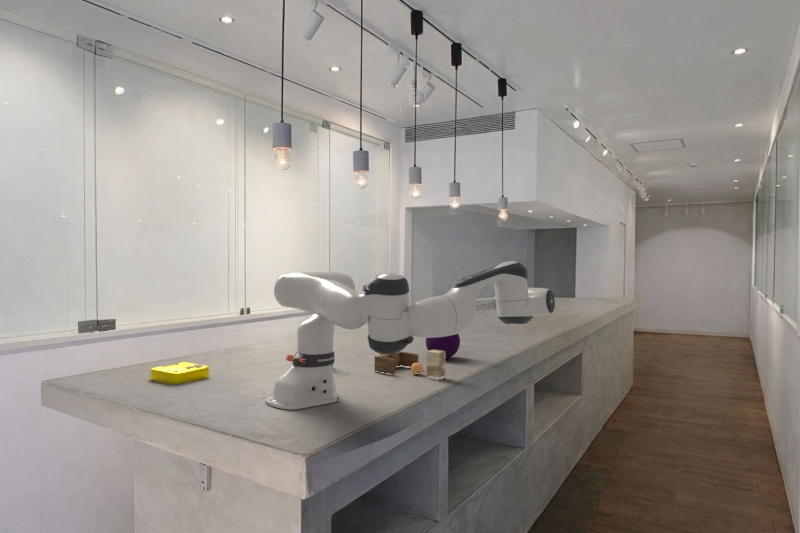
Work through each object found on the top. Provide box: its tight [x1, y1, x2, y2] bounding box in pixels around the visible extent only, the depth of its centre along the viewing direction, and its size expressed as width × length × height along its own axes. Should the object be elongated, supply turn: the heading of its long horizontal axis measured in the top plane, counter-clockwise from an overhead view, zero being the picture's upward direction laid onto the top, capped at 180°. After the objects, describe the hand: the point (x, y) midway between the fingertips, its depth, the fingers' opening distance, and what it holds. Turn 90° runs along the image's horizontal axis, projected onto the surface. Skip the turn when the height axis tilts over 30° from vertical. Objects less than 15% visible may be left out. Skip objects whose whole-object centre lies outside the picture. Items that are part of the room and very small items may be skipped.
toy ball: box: [425, 333, 461, 358], centre depth 234 cm, size 15×15×15 cm
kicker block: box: [426, 350, 446, 377], centre depth 195 cm, size 4×5×10 cm
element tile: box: [149, 361, 210, 386], centre depth 191 cm, size 15×15×5 cm
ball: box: [410, 362, 424, 374], centre depth 201 cm, size 4×4×4 cm
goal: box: [374, 351, 419, 375], centre depth 208 cm, size 15×9×6 cm, turn 139°
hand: (474, 304), depth 181 cm, fingers open, 8 cm apart
